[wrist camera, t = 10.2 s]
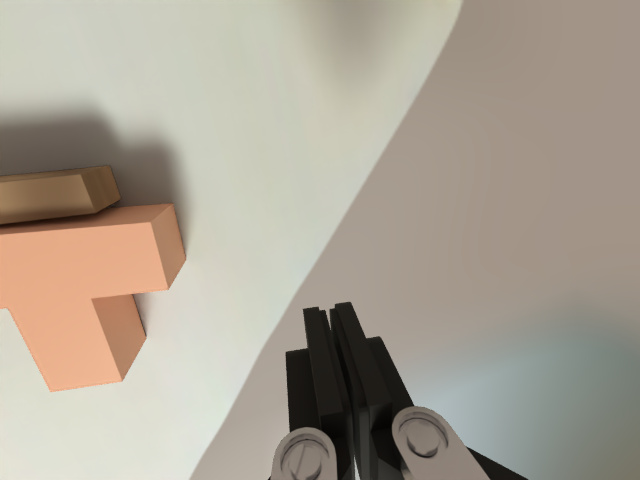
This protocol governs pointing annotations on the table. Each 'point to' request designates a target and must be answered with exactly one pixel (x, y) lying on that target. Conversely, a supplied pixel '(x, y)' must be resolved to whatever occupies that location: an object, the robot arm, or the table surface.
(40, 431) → the table surface
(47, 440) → the table surface
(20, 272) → the t block
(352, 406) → the robot arm
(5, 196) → the walnut fence
